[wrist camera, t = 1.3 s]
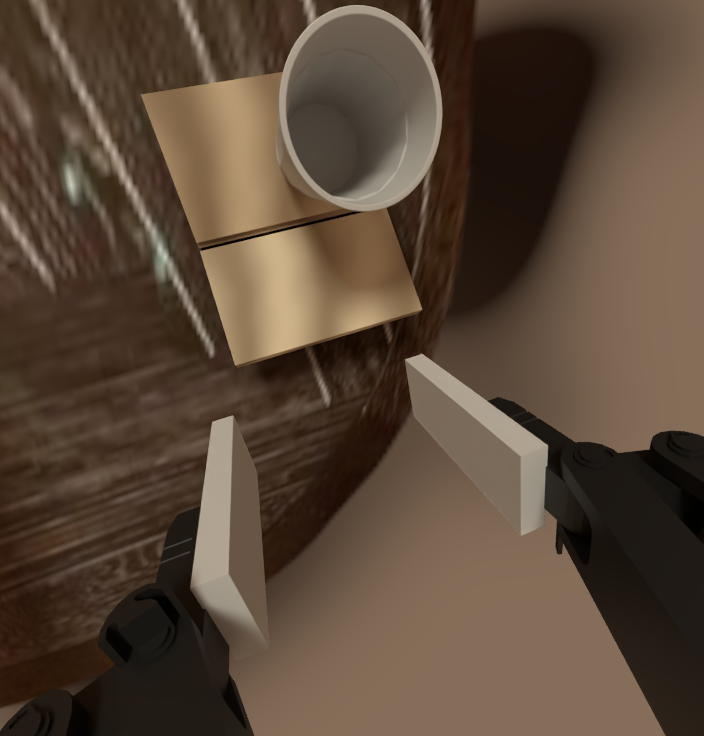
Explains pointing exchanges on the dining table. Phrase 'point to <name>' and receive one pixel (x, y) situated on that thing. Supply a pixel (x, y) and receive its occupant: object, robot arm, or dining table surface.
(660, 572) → the robot arm
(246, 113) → the tan flat board
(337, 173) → the cup
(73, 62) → the dining table surface
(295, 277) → the plank
